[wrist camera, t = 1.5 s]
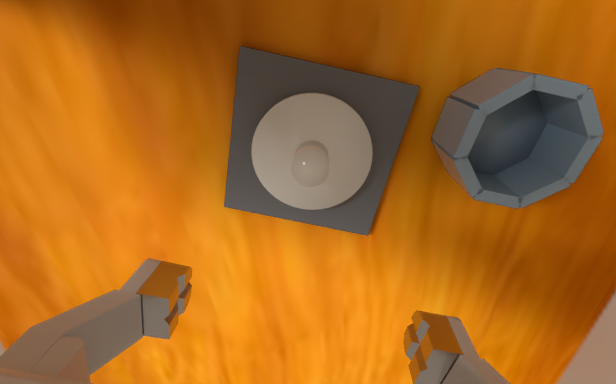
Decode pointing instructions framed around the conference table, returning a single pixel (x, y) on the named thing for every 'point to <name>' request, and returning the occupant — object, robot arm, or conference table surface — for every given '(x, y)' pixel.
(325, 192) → the lid
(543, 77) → the bowl
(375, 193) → the mat
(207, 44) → the conference table surface
